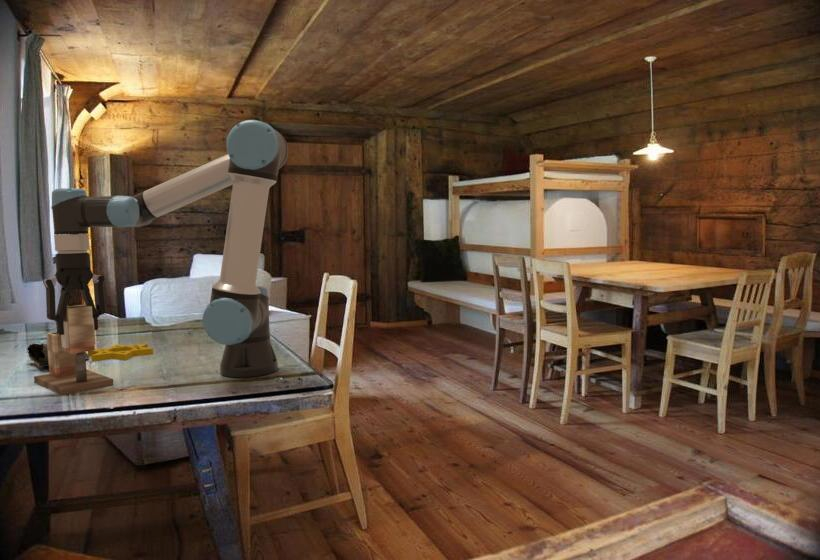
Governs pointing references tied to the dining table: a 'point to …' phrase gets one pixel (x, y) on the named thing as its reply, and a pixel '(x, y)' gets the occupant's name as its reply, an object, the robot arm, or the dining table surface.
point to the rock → (42, 354)
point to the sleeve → (80, 329)
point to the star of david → (120, 352)
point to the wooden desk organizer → (68, 370)
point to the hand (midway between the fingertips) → (78, 345)
